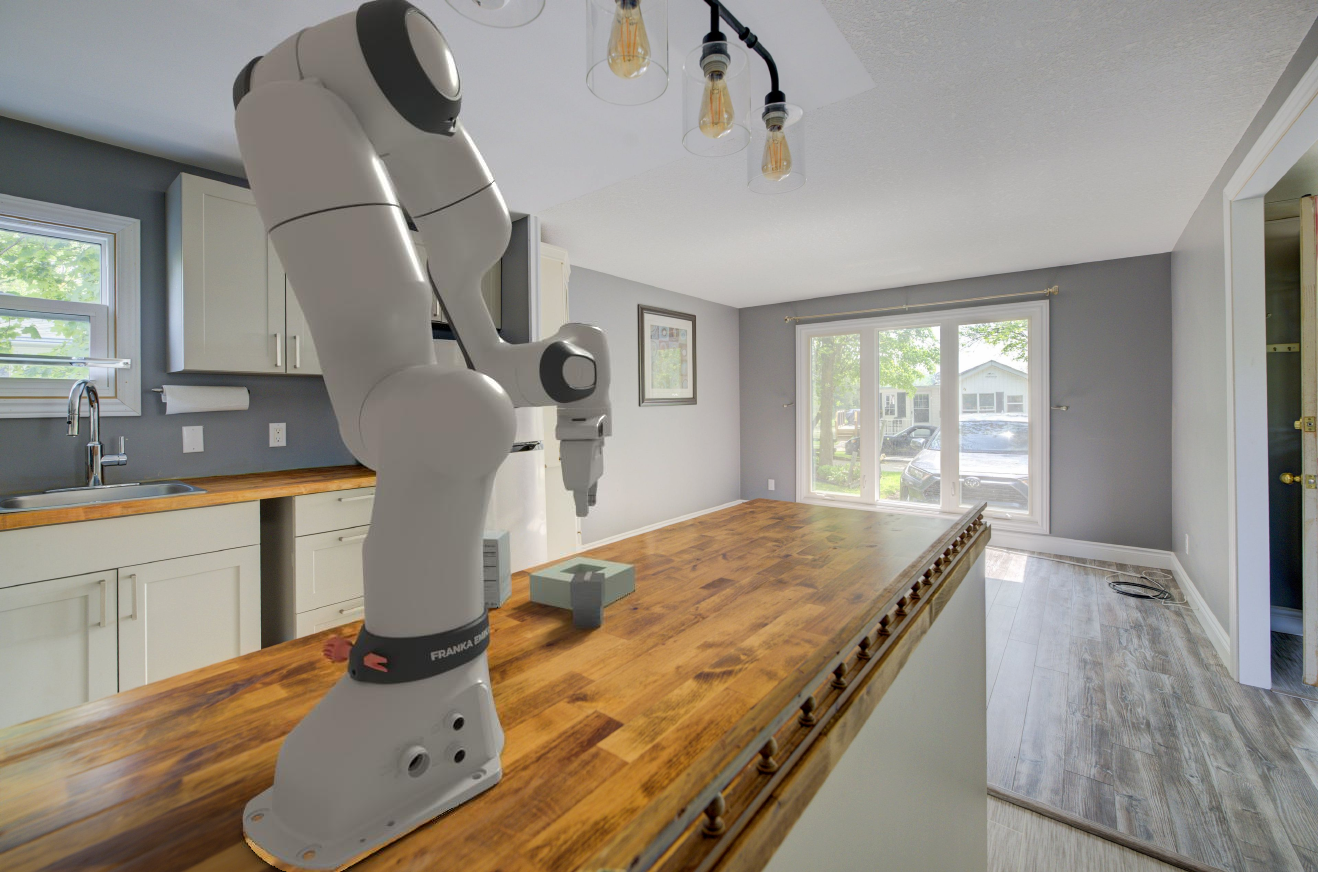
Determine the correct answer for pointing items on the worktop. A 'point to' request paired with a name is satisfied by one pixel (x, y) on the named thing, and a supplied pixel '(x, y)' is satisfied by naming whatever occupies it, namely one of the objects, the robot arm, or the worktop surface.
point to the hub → (556, 579)
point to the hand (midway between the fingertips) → (586, 510)
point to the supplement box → (496, 567)
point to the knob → (587, 599)
